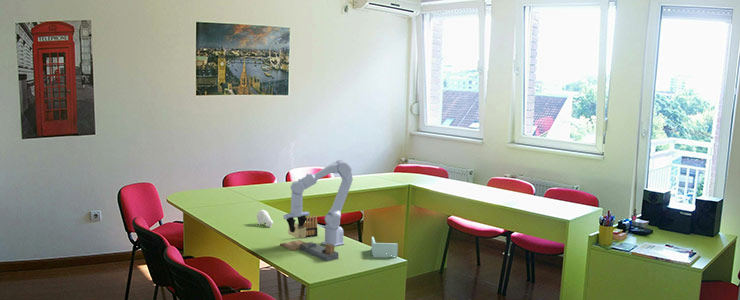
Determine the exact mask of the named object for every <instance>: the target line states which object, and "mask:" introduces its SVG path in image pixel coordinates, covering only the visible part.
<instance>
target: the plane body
mask: <svg viewBox="0 0 740 300" xmlns="http://www.w3.org/2000/svg"><path fill="white" fill-rule="evenodd" d="M299 251H301V252H304V253H306V254H307V255H311V256H313V257H315V258H318V259H319V260H322V261H325V262H330V261H334V260H338V259H339V252H338V251H335V246H334V245H332V244H330V243H328V244H325V245H320V244H317V242H312V241H309V242H305V243H304V244H300V249H299Z"/></svg>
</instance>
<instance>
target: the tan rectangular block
mask: <svg viewBox="0 0 740 300" xmlns="http://www.w3.org/2000/svg"><path fill="white" fill-rule="evenodd" d="M287 233H288V235H290V236H292V237H294V238H295V239H299V240H300V239H305V238H304V237H306V227H304V226H301V225H299V224H298V222H297V223H296V222H295V224H294V232H290V228H289V227H288V232H287Z"/></svg>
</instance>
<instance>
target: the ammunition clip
mask: <svg viewBox="0 0 740 300" xmlns="http://www.w3.org/2000/svg"><path fill="white" fill-rule="evenodd" d="M305 217H307V219H306V221H305V223H304V225H303V226H304V227H306V237H304V238H303V239H307V238H315V237H318V217H317V214H315V216H314V215H309V216H305Z"/></svg>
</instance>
